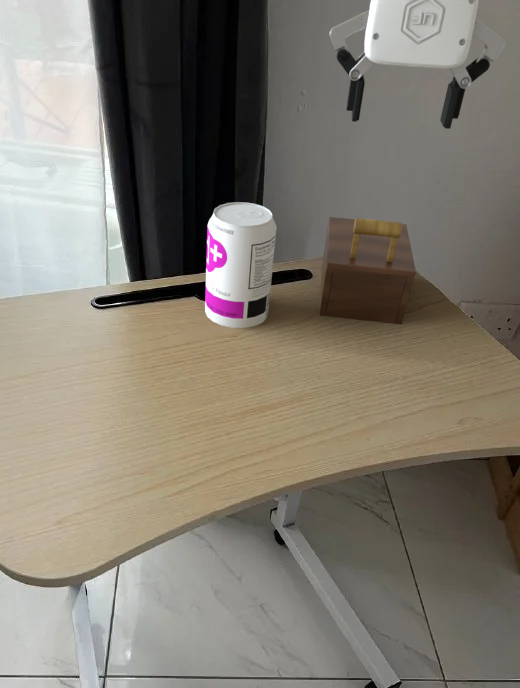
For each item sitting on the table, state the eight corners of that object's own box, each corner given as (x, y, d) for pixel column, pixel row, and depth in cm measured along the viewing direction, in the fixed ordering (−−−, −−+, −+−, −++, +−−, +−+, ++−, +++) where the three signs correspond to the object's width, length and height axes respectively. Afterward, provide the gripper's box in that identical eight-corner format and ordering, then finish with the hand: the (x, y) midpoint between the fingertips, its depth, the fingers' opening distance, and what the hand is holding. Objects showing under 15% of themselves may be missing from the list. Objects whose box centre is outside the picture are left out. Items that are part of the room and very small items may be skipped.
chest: (398, 335, 86) (414, 275, 80) (317, 327, 87) (326, 266, 81) (392, 286, 97) (405, 229, 91) (319, 279, 97) (328, 222, 92)
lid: (414, 277, 80) (426, 232, 76) (326, 268, 81) (333, 223, 77) (405, 229, 91) (414, 188, 87) (328, 222, 92) (334, 180, 88)
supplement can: (211, 342, 83) (216, 229, 74) (199, 309, 89) (202, 201, 80) (274, 337, 84) (286, 226, 75) (257, 304, 91) (267, 198, 81)
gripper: (343, -76, 59) (318, 125, 69) (544, -66, 57) (487, 138, 68) (342, -79, 64) (320, 106, 75) (525, -70, 63) (475, 118, 73)
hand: (399, 121), depth 71 cm, fingers open, 9 cm apart
